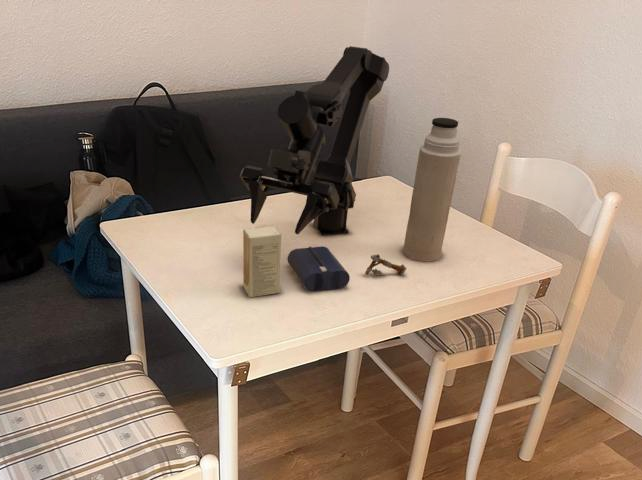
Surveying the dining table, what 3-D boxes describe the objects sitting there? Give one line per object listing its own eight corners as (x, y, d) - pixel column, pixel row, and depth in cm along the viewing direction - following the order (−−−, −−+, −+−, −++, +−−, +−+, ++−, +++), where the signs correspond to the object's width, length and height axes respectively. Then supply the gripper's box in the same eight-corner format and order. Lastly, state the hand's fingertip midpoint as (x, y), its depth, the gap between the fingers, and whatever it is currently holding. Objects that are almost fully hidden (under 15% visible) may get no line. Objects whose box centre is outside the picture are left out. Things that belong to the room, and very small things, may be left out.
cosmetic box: (273, 283, 131) (275, 224, 124) (280, 293, 127) (283, 233, 120) (241, 287, 129) (242, 227, 122) (247, 297, 126) (249, 237, 119)
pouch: (329, 263, 139) (330, 244, 137) (348, 288, 130) (351, 268, 128) (286, 267, 137) (287, 247, 134) (303, 292, 128) (305, 272, 126)
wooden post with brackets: (360, 270, 135) (371, 250, 133) (392, 282, 138) (403, 263, 136) (363, 274, 133) (374, 254, 131) (395, 286, 137) (407, 267, 135)
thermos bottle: (440, 248, 147) (466, 116, 132) (440, 263, 141) (467, 127, 125) (403, 243, 149) (425, 112, 133) (402, 259, 142) (424, 123, 126)
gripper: (245, 121, 123) (214, 198, 121) (339, 139, 117) (308, 220, 115) (263, 153, 134) (235, 224, 132) (351, 170, 127) (323, 245, 125)
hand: (273, 228), depth 125 cm, fingers open, 9 cm apart
